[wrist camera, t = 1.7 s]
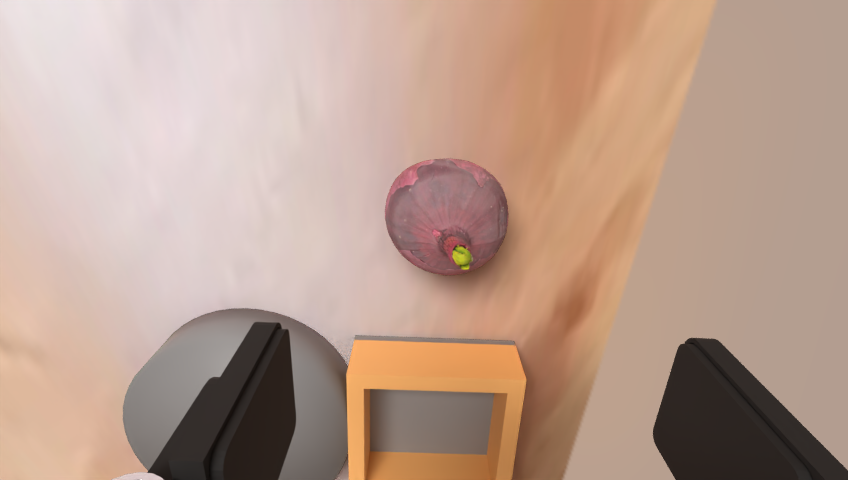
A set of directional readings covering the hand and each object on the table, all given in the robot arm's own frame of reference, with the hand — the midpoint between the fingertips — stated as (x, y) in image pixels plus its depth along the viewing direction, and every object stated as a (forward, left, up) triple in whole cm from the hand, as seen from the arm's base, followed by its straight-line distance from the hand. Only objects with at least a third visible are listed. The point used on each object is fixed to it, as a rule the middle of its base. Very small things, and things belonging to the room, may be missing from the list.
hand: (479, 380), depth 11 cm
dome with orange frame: (-15, +7, -17) cm, 24 cm away
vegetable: (0, 0, -17) cm, 17 cm away
